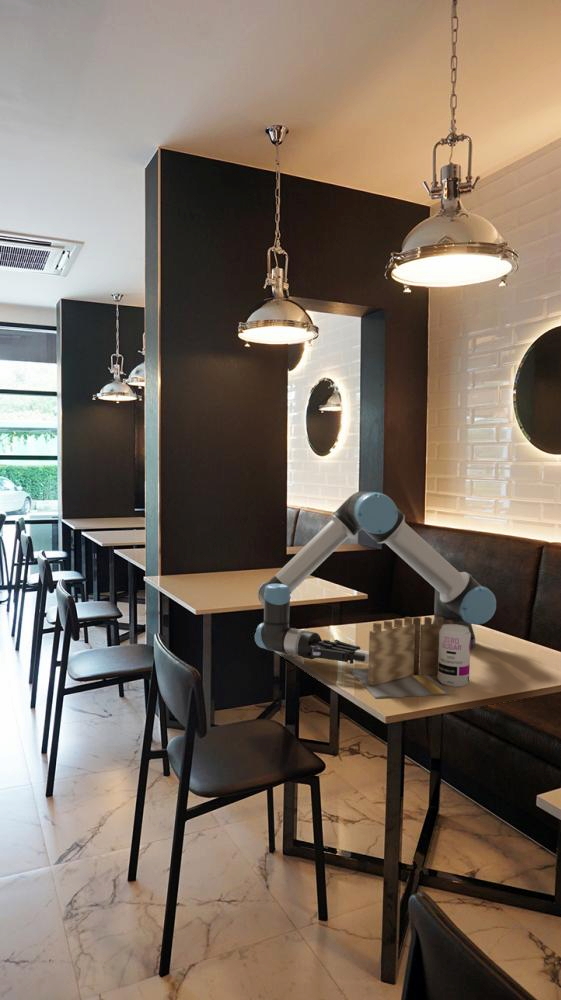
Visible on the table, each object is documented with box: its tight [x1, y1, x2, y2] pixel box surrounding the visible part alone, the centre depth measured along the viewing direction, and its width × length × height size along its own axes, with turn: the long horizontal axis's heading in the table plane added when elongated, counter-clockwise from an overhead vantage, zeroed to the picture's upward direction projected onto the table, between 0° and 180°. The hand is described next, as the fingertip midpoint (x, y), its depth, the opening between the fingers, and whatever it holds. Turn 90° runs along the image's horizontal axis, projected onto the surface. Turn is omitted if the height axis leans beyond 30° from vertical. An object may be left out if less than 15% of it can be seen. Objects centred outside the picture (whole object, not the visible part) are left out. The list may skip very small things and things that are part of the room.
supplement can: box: [437, 624, 471, 688], centre depth 179 cm, size 8×8×15 cm
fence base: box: [349, 616, 453, 699], centre depth 179 cm, size 28×22×16 cm
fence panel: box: [368, 616, 415, 686], centre depth 178 cm, size 16×2×16 cm, turn 128°
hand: (377, 659), depth 177 cm, fingers closed
